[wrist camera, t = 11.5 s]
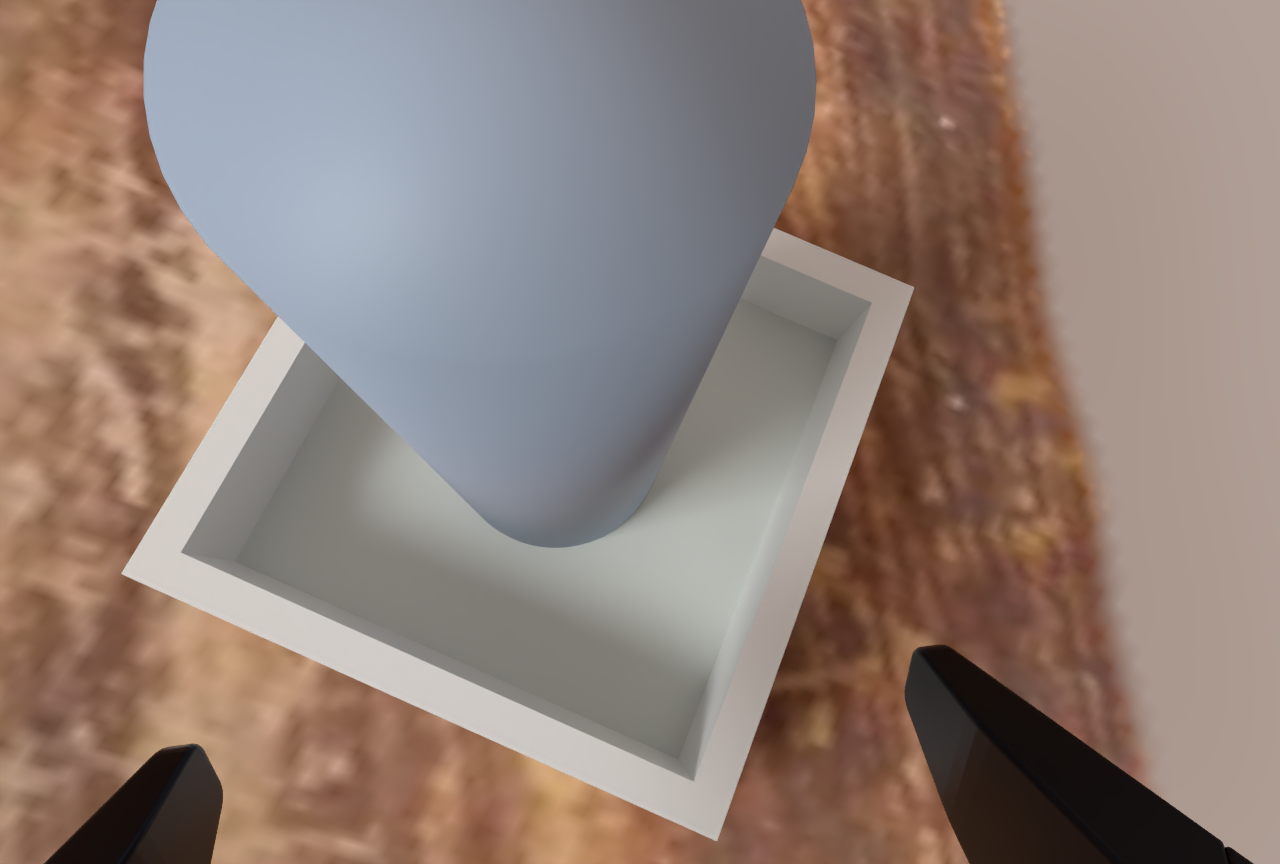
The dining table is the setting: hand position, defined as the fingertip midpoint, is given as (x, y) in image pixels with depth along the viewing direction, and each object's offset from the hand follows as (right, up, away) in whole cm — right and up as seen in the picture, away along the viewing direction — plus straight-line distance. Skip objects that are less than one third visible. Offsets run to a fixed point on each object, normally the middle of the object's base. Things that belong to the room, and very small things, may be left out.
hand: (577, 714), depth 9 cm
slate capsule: (-1, +3, +9) cm, 9 cm away
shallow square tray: (-1, +3, +9) cm, 10 cm away
